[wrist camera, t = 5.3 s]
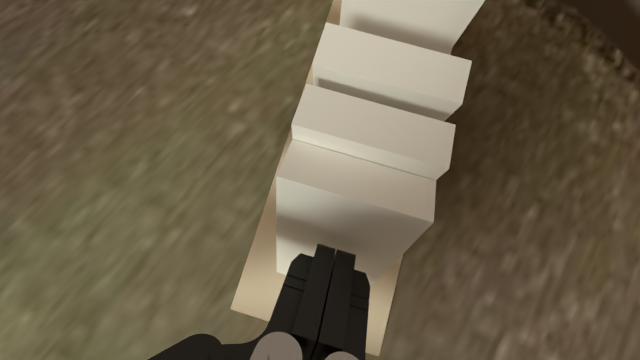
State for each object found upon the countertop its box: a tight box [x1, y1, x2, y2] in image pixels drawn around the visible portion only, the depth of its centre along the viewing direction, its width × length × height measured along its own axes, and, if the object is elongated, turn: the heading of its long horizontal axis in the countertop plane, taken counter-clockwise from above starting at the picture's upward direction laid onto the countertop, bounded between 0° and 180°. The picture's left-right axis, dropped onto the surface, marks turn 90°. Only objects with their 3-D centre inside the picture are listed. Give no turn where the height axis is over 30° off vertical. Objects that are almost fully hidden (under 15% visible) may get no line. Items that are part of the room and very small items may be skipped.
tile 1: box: [276, 139, 436, 287], centre depth 14 cm, size 2×5×10 cm, turn 73°
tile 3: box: [312, 22, 472, 121], centre depth 15 cm, size 2×5×10 cm, turn 73°
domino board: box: [231, 0, 452, 356], centre depth 20 cm, size 23×9×1 cm, turn 163°
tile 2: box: [291, 84, 456, 180], centre depth 14 cm, size 2×5×10 cm, turn 74°
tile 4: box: [339, 0, 485, 54], centre depth 16 cm, size 2×5×10 cm, turn 73°
